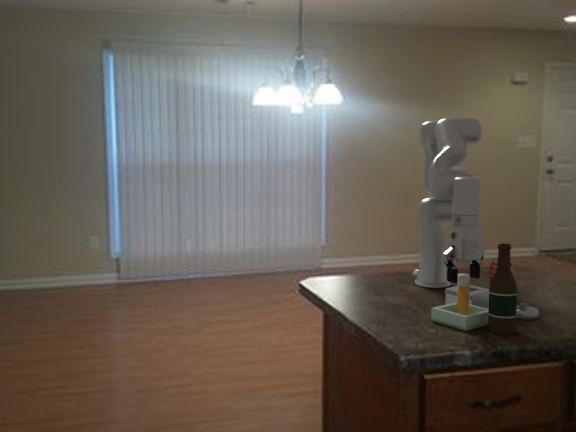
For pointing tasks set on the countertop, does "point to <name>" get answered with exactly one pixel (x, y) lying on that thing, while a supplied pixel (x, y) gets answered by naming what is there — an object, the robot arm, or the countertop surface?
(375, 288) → the countertop surface
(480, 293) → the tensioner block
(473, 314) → the tray
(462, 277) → the pin
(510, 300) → the beer bottle
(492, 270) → the soda can
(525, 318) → the metal pot lid
